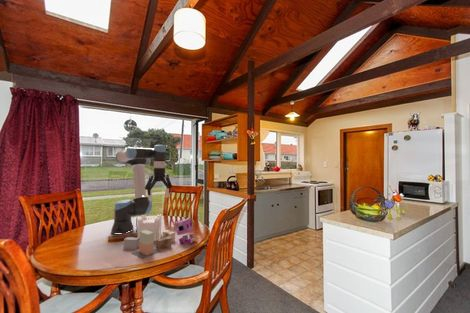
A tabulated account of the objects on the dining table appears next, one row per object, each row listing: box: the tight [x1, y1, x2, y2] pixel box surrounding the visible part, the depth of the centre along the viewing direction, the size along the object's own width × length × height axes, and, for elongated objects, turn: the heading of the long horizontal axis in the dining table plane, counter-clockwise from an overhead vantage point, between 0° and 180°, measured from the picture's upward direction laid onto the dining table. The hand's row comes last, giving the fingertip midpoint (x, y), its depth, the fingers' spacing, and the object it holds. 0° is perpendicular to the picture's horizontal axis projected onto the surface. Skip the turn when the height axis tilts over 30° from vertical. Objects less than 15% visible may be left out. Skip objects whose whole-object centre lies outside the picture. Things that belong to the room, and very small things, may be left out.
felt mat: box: [130, 248, 162, 260], centre depth 129 cm, size 12×12×1 cm
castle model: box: [137, 213, 163, 242], centre depth 153 cm, size 14×14×15 cm
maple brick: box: [162, 229, 176, 243], centre depth 150 cm, size 8×4×6 cm, turn 55°
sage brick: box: [140, 230, 155, 245], centre depth 129 cm, size 8×4×6 cm, turn 56°
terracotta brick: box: [138, 242, 154, 255], centre depth 129 cm, size 8×4×6 cm, turn 55°
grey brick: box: [123, 236, 140, 250], centre depth 136 cm, size 8×4×6 cm, turn 85°
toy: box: [174, 217, 196, 245], centre depth 149 cm, size 11×8×15 cm
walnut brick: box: [155, 236, 172, 251], centre depth 137 cm, size 8×4×6 cm, turn 130°
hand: (158, 198), depth 149 cm, fingers open, 13 cm apart
